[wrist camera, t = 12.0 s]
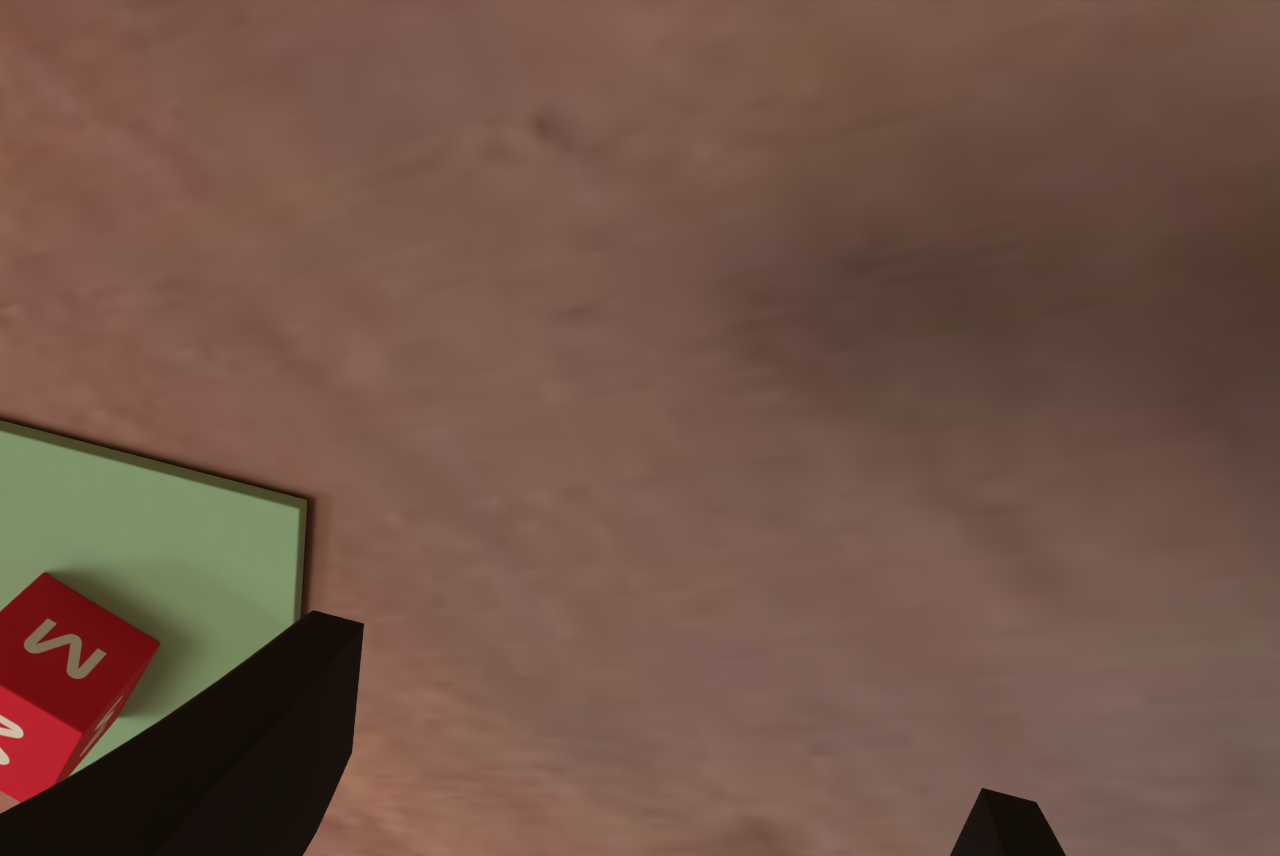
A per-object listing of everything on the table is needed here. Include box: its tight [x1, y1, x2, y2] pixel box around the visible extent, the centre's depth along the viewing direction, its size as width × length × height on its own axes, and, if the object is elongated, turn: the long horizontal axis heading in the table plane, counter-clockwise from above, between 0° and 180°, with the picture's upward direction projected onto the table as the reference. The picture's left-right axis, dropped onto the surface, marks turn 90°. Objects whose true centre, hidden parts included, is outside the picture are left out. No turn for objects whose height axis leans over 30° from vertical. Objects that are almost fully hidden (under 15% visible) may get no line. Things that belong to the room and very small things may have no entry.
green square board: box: [0, 420, 307, 776], centre depth 27 cm, size 11×10×1 cm
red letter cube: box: [0, 573, 160, 803], centre depth 25 cm, size 3×3×3 cm
